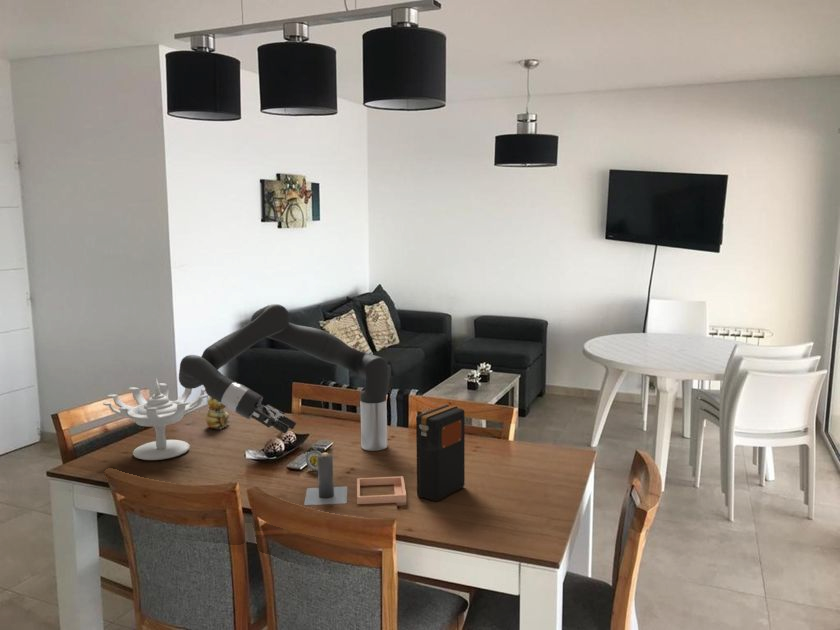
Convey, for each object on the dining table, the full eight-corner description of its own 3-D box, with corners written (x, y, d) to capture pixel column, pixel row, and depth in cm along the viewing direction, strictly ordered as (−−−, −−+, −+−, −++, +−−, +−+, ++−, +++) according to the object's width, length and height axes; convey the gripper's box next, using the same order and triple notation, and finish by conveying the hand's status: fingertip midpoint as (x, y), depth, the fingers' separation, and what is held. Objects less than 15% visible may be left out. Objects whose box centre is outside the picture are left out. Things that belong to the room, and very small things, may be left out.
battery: (319, 492, 201) (317, 451, 199) (334, 492, 201) (332, 450, 200) (318, 498, 197) (316, 456, 195) (333, 498, 197) (332, 455, 195)
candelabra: (84, 466, 226) (77, 387, 222) (149, 433, 260) (144, 364, 256) (175, 475, 218) (170, 392, 214) (230, 439, 252) (226, 368, 248)
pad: (307, 491, 205) (307, 488, 204) (347, 489, 206) (347, 486, 206) (304, 508, 193) (304, 505, 193) (346, 506, 194) (346, 503, 194)
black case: (445, 480, 212) (445, 402, 208) (468, 487, 206) (468, 407, 203) (413, 496, 200) (412, 414, 196) (436, 504, 194) (436, 420, 191)
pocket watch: (301, 482, 211) (300, 451, 210) (298, 472, 219) (297, 442, 218) (327, 479, 214) (326, 449, 212) (324, 470, 222) (323, 440, 220)
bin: (357, 487, 207) (357, 478, 206) (403, 485, 208) (403, 476, 208) (357, 507, 193) (357, 497, 193) (406, 505, 194) (406, 495, 194)
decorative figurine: (220, 431, 262) (218, 393, 259) (200, 430, 263) (198, 392, 261) (232, 424, 271) (230, 387, 269) (213, 422, 273) (211, 386, 270)
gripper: (240, 390, 186) (292, 419, 185) (255, 386, 200) (303, 413, 199) (227, 414, 186) (278, 443, 185) (242, 409, 200) (290, 436, 199)
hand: (291, 428), depth 192 cm, fingers open, 8 cm apart
